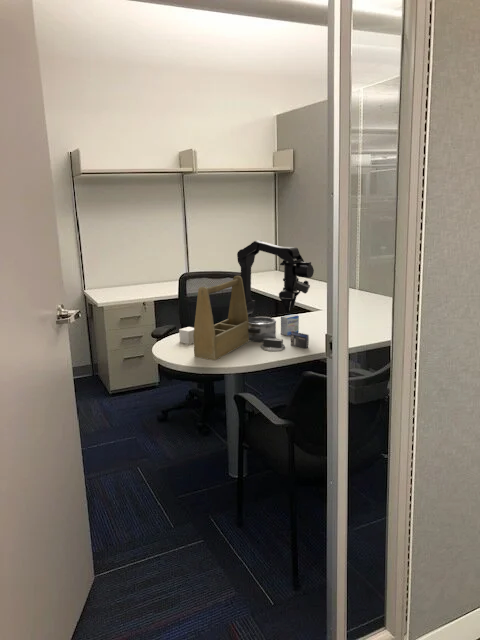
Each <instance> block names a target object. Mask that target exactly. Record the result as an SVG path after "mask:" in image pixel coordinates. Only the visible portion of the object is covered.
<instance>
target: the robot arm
mask: <svg viewBox="0 0 480 640" xmlns="http://www.w3.org/2000/svg"><path fill="white" fill-rule="evenodd" d="M260 252H264V253H267V254H271V255H275V256H277V257H279V259H281V260H282V261H281V262H280V264H279V265H280V266H284V267H283V268H284V269H283V272H284V273H283V278H282V281H283V287H282V290H281V291H280V292H279V293H278V298H279V299H280V300H281V303H282V305H283V307H284V309H285V312H286V313H289V312H290V310H291V309H293V308H295V304H296V301H297V296H299V294H301V293H303V294H307V293H308V292H309V290H310V287H311V284H309V281H308V280H304V281H300V280H299V278H306V279H311V278H313V276H314V271H315V270H314V267H313V265H312V262H311V261H307V262H306V261H305V260H304V259H303V257H302V255H301V253H300V250H299V249H298V247H296V246H280V245H276V244H273V243H269V242H266V241H263V240H254V241H252V242H251V243H250V244H249V245H247V246H246V247H245V246H244V247H243V248H241V249H239V250H238V251H237V254H236V256H237V257H236V258H237V263H238V265H239V267H240V276H241V278H242V281H243V287H244V293H245V299H246V307H247V313H248V318H250V317H252V314H253V312H255V311H254V310H255V309H256V305H255V304H256V300H255V299H254V300H253V298H252V294H251V292H252V267H253V265H254V263H255V258H256V255H257V254H259V253H260Z"/></svg>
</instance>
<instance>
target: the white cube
mask: <svg viewBox="0 0 480 640" xmlns="http://www.w3.org/2000/svg"><path fill="white" fill-rule="evenodd" d="M178 331H179V343H183V344H186V345H191V344H194V326H187V327H183V328H179V329H178Z"/></svg>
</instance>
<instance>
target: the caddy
mask: <svg viewBox="0 0 480 640" xmlns="http://www.w3.org/2000/svg"><path fill="white" fill-rule="evenodd" d="M229 288H231V293H230V300H229V307H228V314H227V315H228V316H227V319H225V320H222V321H220V322H218V323H215V324H214V315H213V312H212V311H213V310H212V304H211V298H210V295H211V294H214V293H217V292H220V291H222V290H225V289H229ZM193 325H194V326H193V328H194V343H193V355H194V358H200V359H205V360H210V361H217V360H219V359H220V358H222V357H224V356H226V355H228V354H229V353H231V352H232V351H234V350H236V349H238V348H240V347H241V346H244V345H245V344H248V343H249V321H248V313H247V307H246V299H245V293H244V287H243V281H242V278H241V275H235V276H234V277H233V279H232V280H229V281H226V282H224V283H220V284H218V285H217V284H216V285H214V286H210V287H206V286H200V287H198V290H197V299H196V309H195V315H194V324H193Z"/></svg>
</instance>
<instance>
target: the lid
mask: <svg viewBox="0 0 480 640" xmlns="http://www.w3.org/2000/svg"><path fill="white" fill-rule="evenodd" d="M260 348H261V350H263V351H268V352H280V351H283V349H284V350H285V349H286V345H285V344H284V339H282V338H275V339H273V338H265V339H263V342H262V344H261V345H260Z"/></svg>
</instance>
